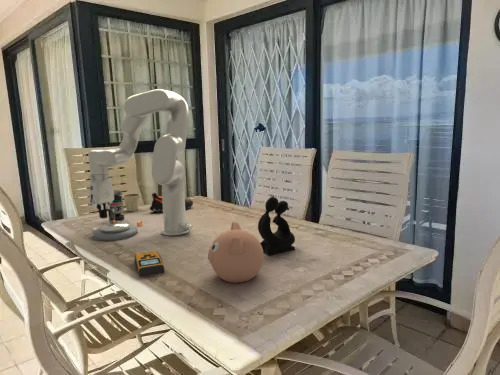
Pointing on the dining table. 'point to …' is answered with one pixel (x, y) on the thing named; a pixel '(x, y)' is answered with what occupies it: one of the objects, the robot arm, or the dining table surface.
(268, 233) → the figurine
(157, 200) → the athletic shoe
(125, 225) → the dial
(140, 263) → the electronic device
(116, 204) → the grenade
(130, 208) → the flower pot
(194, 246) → the dining table surface
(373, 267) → the dining table surface
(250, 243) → the toy
